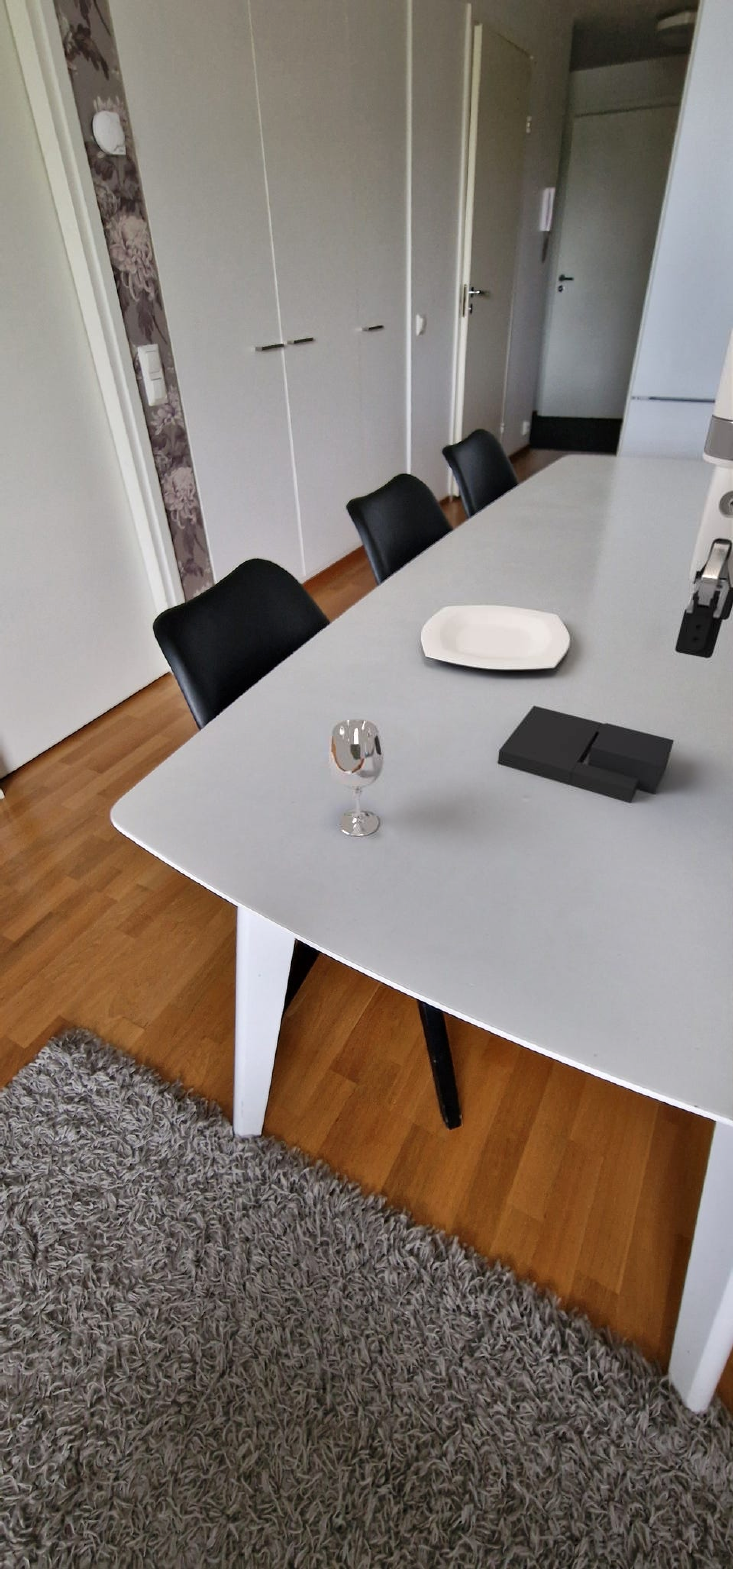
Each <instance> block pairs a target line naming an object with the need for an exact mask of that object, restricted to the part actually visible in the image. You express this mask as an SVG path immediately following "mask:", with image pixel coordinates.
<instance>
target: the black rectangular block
mask: <svg viewBox="0 0 733 1569" xmlns="http://www.w3.org/2000/svg"><path fill="white" fill-rule="evenodd" d="M604 724H605V725H604V726H603V728H602V730H601V731H600V733H599V735H598V736H597V738H596V740H595V741H594V743H593V745H592V747H591V750H590V752H589V756H588V761H587V765H590V766H594V767H597V768H601V769H604V770H608V771H612V772H615V773H619V774H622V775H626V776H629V777H633V778H636V779H638V784H637V787H636V790H639V791H642V792H645V793H649V794H653V795H655V794H656V792H657V790H658V787H659V785H660V783H661V780H662V778H663V776H664V774H665V771H666V769H667V766H668V762H669V759H670V756H671V752H672V748H673V746H674V742H675V740H674V739H670V738H667V737H664V736H659V735H655V734H652V733H647V732H644V731H640V730H635V729H632V728H628V727H623V726H620V725H616V724H611V723H608V722H605V723H604Z"/></svg>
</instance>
